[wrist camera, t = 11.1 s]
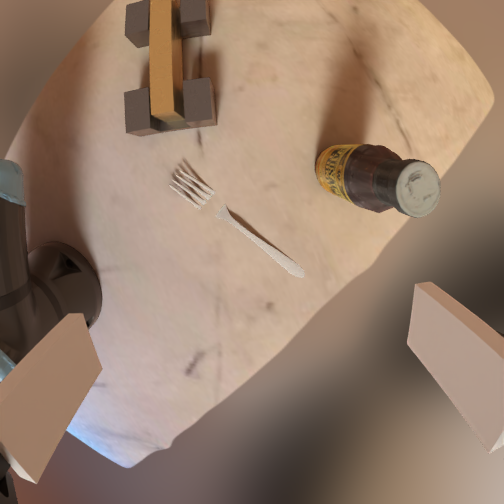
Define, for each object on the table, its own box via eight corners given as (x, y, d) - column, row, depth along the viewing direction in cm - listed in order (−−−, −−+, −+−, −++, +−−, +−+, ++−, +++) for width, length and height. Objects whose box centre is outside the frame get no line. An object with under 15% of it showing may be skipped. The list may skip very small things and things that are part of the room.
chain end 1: (137, 48, 32) (124, 35, 27) (138, 19, 30) (126, 4, 26) (210, 34, 32) (206, 18, 27) (209, 6, 30) (205, -12, 26)
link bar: (165, 122, 34) (151, 114, 28) (162, 15, 30) (150, -5, 24) (185, 119, 34) (174, 111, 28) (181, 12, 30) (171, -9, 24)
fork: (311, 296, 42) (313, 301, 40) (169, 186, 38) (165, 187, 36) (326, 279, 41) (329, 284, 40) (184, 166, 37) (181, 166, 35)
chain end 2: (140, 136, 35) (125, 132, 31) (138, 100, 34) (124, 92, 29) (216, 125, 35) (212, 119, 30) (214, 88, 34) (209, 77, 29)
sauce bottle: (312, 144, 36) (381, 128, 17) (358, 147, 36) (454, 141, 17) (311, 195, 38) (378, 228, 19) (357, 197, 38) (449, 230, 19)
